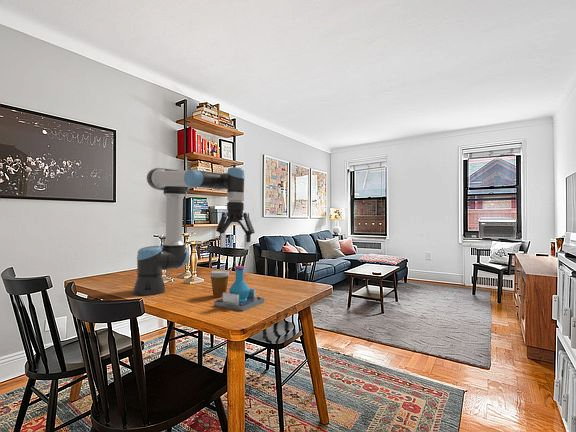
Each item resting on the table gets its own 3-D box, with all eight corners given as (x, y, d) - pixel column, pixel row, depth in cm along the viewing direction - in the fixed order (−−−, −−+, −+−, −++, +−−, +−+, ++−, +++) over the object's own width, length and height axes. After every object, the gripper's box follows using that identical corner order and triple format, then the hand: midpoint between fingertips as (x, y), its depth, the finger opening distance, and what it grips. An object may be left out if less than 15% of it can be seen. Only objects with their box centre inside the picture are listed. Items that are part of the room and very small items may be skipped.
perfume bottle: (230, 297, 150) (230, 264, 150) (249, 296, 151) (250, 264, 151) (228, 302, 141) (228, 268, 141) (249, 302, 141) (249, 267, 141)
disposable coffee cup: (224, 298, 155) (225, 273, 155) (206, 297, 157) (206, 272, 157) (232, 294, 164) (232, 270, 164) (214, 292, 166) (214, 269, 166)
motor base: (213, 305, 143) (213, 292, 143) (236, 297, 157) (236, 285, 157) (242, 311, 135) (242, 296, 135) (264, 302, 149) (264, 289, 149)
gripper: (209, 201, 150) (208, 247, 150) (252, 201, 138) (252, 251, 138) (220, 202, 156) (219, 245, 157) (262, 202, 144) (261, 249, 144)
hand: (234, 248), depth 147 cm, fingers open, 13 cm apart
